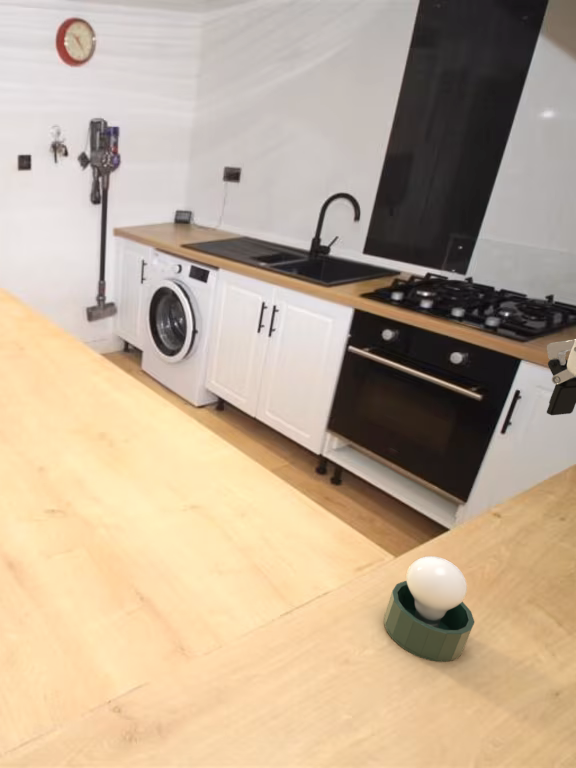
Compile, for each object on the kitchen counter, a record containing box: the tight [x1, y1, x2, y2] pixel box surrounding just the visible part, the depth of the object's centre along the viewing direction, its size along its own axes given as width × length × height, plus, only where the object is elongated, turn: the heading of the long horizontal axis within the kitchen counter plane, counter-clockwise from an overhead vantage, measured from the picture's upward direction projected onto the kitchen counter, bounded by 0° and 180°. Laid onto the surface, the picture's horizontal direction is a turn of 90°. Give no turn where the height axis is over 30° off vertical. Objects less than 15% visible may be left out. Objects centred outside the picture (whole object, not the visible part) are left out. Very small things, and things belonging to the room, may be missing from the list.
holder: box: [383, 580, 475, 663], centre depth 70 cm, size 9×9×5 cm
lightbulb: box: [405, 555, 468, 628], centre depth 69 cm, size 6×6×11 cm
